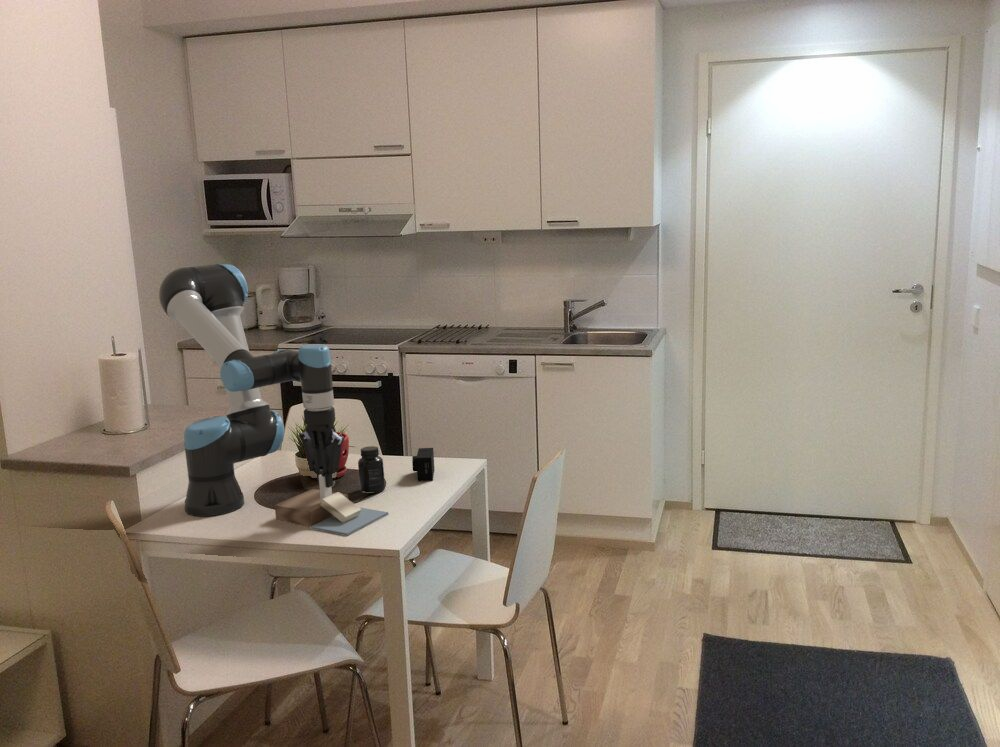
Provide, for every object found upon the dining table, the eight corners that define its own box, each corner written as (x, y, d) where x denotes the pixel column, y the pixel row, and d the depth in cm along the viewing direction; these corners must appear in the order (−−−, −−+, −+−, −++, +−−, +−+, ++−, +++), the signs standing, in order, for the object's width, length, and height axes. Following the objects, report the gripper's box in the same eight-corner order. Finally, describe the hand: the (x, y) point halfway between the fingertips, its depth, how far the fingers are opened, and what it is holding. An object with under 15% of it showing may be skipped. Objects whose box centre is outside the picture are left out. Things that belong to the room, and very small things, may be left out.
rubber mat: (310, 528, 219) (310, 526, 219) (352, 508, 232) (352, 506, 232) (347, 535, 213) (347, 533, 213) (388, 514, 226) (388, 512, 226)
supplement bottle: (388, 486, 249) (385, 445, 247) (380, 494, 242) (377, 451, 240) (364, 486, 250) (361, 444, 248) (356, 494, 244) (353, 451, 241)
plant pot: (323, 485, 253) (320, 444, 250) (296, 477, 262) (293, 437, 259) (360, 473, 262) (357, 434, 260) (333, 466, 271) (330, 428, 269)
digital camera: (416, 471, 263) (414, 448, 261) (434, 470, 263) (433, 447, 262) (413, 481, 253) (411, 458, 251) (432, 480, 253) (431, 457, 251)
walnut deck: (276, 520, 226) (274, 505, 225) (313, 503, 238) (312, 488, 237) (312, 527, 220) (310, 511, 219) (348, 509, 232) (347, 494, 231)
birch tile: (320, 505, 223) (322, 498, 222) (336, 498, 228) (338, 491, 227) (343, 523, 220) (345, 516, 219) (359, 515, 225) (361, 509, 224)
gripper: (288, 408, 221) (296, 500, 225) (329, 413, 214) (336, 506, 219) (309, 402, 227) (316, 491, 232) (349, 406, 221) (356, 497, 225)
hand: (326, 498), depth 225 cm, fingers closed
